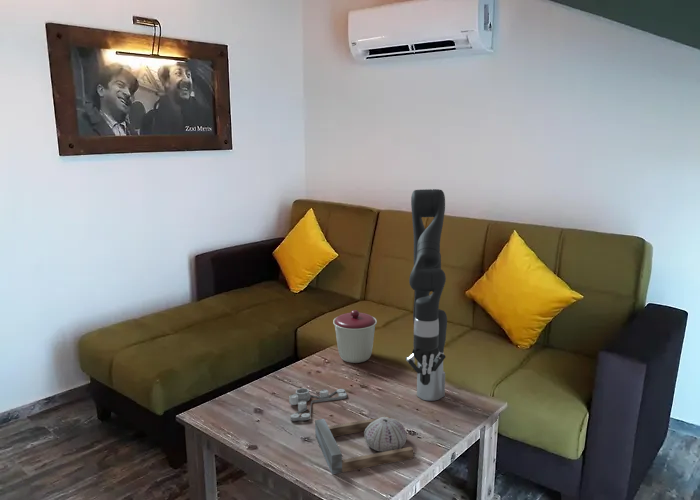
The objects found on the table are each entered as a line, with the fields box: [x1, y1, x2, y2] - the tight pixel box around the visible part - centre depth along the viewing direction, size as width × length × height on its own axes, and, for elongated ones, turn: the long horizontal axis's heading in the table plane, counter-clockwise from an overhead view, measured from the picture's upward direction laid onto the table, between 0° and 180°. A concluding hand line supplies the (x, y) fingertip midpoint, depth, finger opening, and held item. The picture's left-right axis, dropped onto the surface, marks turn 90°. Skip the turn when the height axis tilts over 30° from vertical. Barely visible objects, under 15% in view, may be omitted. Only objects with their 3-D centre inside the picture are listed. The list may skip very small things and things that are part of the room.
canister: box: [332, 309, 378, 364], centre depth 236 cm, size 18×18×21 cm
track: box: [314, 415, 414, 475], centre depth 174 cm, size 25×20×6 cm
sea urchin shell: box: [363, 416, 408, 453], centre depth 176 cm, size 13×14×8 cm
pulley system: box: [288, 387, 348, 422], centre depth 202 cm, size 27×5×15 cm
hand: (424, 383), depth 177 cm, fingers closed
